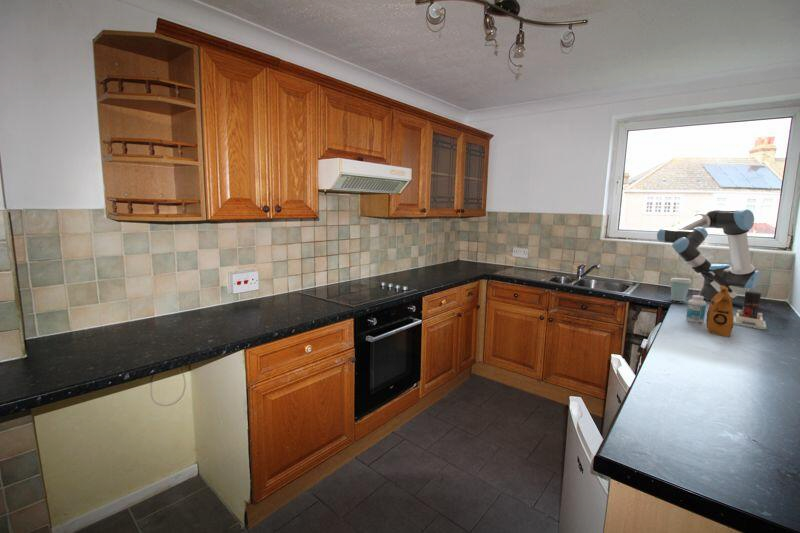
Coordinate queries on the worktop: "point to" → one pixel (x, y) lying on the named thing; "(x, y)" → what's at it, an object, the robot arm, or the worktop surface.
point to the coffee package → (720, 314)
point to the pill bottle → (696, 309)
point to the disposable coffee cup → (679, 288)
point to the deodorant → (751, 304)
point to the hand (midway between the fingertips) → (728, 293)
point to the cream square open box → (749, 321)
